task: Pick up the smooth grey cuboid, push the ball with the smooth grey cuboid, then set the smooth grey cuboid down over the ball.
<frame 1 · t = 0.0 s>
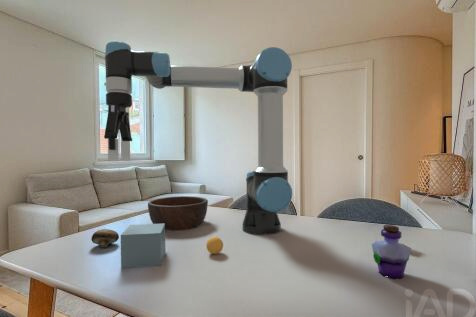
hand: (120, 160, 85), 28 cm above the table, fingers open, 13 cm apart
ball: (214, 245, 80), on the table
wooden bowl: (178, 224, 115), on the table
smooth grey cuboid: (144, 259, 76), on the table
robot head: (392, 247, 85), on the table
potion bottle: (391, 274, 66), on the table
mushroom: (105, 246, 88), on the table
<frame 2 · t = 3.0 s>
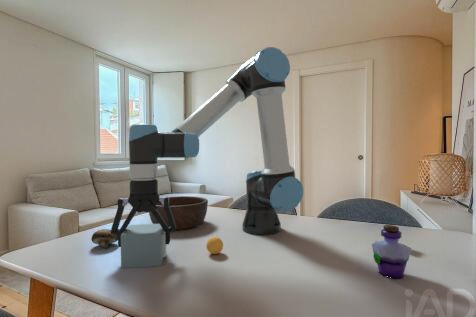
hand: (144, 256, 76), 1 cm above the table, fingers closed on smooth grey cuboid, 10 cm apart
smooth grey cuboid: (144, 259, 76), on the table, touching gripper
everything else where it was.
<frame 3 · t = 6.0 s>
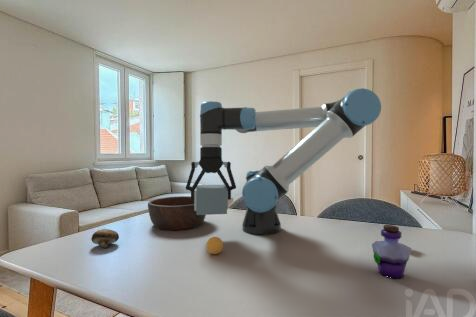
hand: (211, 209, 95), 10 cm above the table, fingers closed on smooth grey cuboid, 10 cm apart
smooth grey cuboid: (211, 211, 95), point 10 cm above the table, touching gripper
everything else where it was.
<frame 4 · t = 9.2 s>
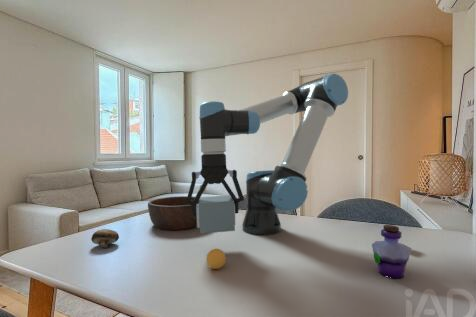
hand: (216, 225, 83), 8 cm above the table, fingers closed on smooth grey cuboid, 10 cm apart
ball: (216, 258, 70), on the table
smooth grey cuboid: (216, 227, 83), point 7 cm above the table, touching gripper
everything else where it was.
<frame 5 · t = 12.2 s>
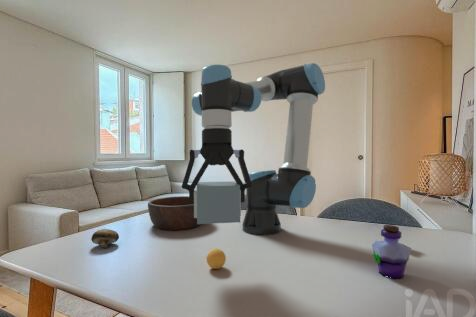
hand: (217, 215, 68), 14 cm above the table, fingers closed on smooth grey cuboid, 10 cm apart
smooth grey cuboid: (217, 218, 69), point 14 cm above the table, touching gripper
everything else where it was.
when the fingers open (1 cm above the table, at t = 14.6 s): smooth grey cuboid stays where it is, on the table.
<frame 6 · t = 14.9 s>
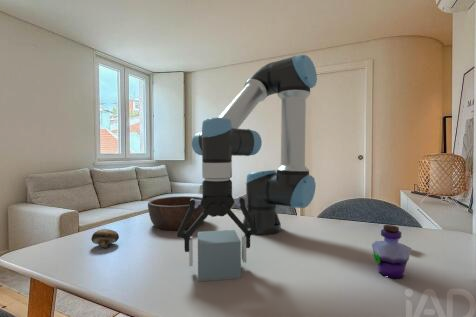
hand: (217, 262, 69), 2 cm above the table, fingers open, 13 cm apart
smooth grey cuboid: (218, 270, 69), on the table
everything else where it was.
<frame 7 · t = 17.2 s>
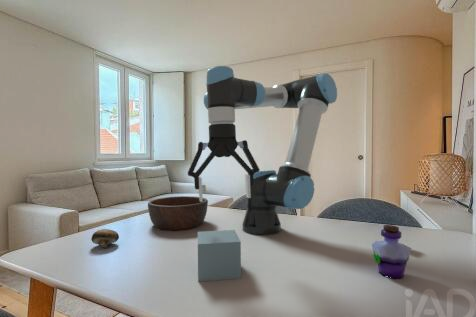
hand: (225, 199, 76), 17 cm above the table, fingers open, 13 cm apart
nothing on the table moved.
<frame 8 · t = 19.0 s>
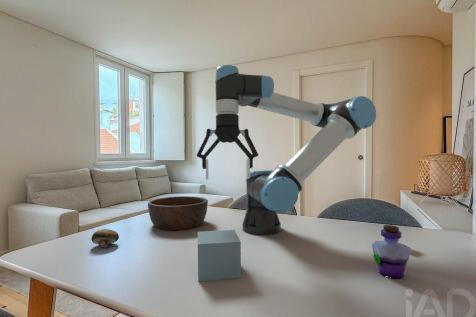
hand: (227, 178, 89), 22 cm above the table, fingers open, 13 cm apart
nothing on the table moved.
at the end: ball 1.6 cm from the smooth grey cuboid (horizontally); smooth grey cuboid on the table; ball moved 10.3 cm from its start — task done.
